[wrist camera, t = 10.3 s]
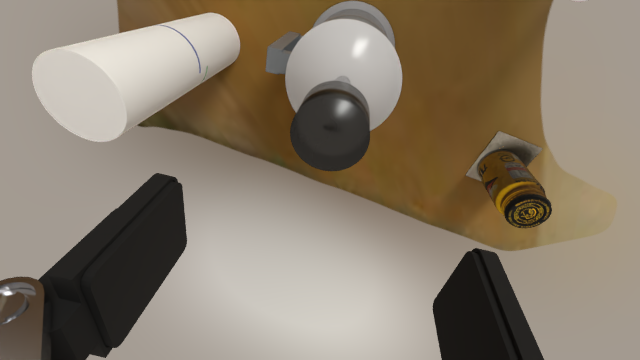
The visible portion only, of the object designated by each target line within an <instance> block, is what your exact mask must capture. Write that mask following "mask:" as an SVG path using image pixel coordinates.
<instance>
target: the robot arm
mask: <svg viewBox="0 0 640 360" xmlns="http://www.w3.org/2000/svg"><path fill="white" fill-rule="evenodd" d="M186 244H187V236H186V225H185V213H184V203H183V191H182V185H181V183H178V181H177V179H176V178H175V177H172V176H168V175H164V174H159V173H156V174H154V175H153V176H152V177H151V178H150V179H149V180H148V181H147V182H146V183H144V184H143V185H142V186H141V187H140V188H139V189H138V190H137V191H136V192H135V193H134V194H133V195H132V196H130V197H129V198H128V199H127V200H126V201H125V202H124V203H123V204H122V205H121V206H120V207H119V208H117V209H115V210H114V211H113V212H111V213H110V214H109V215H108V216H107V217H106V218H105V219H104V220H103V221H102V222H101V223H99V224H98V225H97V226H96V227H95V228H94V229H93V230H92V231H91V232H90V233H89V234H87V235H86V236H85V237H84V238H83V239H82V240H81V241H80V242H79V243H78V244H77V245H76V246H75V247H73V248H72V249H71V250H70V251H69V252H68V253H67V254H66V255H65V256H64V257H63V258H61V259H60V260H59V261H58V262H57V263H56V264H55V265H54V266H53V267H52V268H51V269H50V270H48V271H47V272H46V273H45V274H44V275H43V276H42V277H41V278H40V279H39V280H37V279H33V278H31V277H14V278H8V279H4V280H1V281H0V360H86V358H87V357H88V356H89V354H92V355H96V356H100V357H105V358H106V357H107V355H108V354H109V352H110V351H111V349H112V348H117V347H118V346H119V345H120V344H121V343H122V342H123V341H124V339H125V338H126V336H127V335H128V333H129V332H130V330H131V329H132V327H133V326H134V324H135V323H136V321H137V320H138V318H139V317H140V315H141V314H142V312H143V311H144V309H145V308H146V306H147V305H148V303H149V302H150V301H151V299H152V298H153V296H154V295H155V293H156V292H157V290H158V289H159V287H160V286H161V284H162V283H163V281H164V280H165V278H166V277H167V275H168V274H169V272H170V271H171V269H172V268H173V266H174V265H175V263H176V262H177V260H178V259H179V257H180V256H181V254H182V253H183V251H184V250H185V247H186ZM433 314H434V319H435V325H436V330H437V336H438V341H439V347H440V352H441V358H442V360H544V358H543V356H542V354H541V352H540V350H539V347H538V345H537V343H536V340H535V338H534V336H533V334H532V332H531V329H530V327H529V325H528V323H527V320H526V318H525V316H524V314H523V311H522V309H521V307H520V305H519V302H518V300H517V298H516V296H515V293H514V291H513V289H512V287H511V284H510V282H509V280H508V278H507V275H506V273H505V271H504V269H503V266H502V264H501V262H500V260H499V257H498V256H497V254H496V253H494V252H490V251H486V250H482V249H477V248H475V249H473V250H472V251H468V252H467V253H466V254H465V255H464V257H463V258H462V260H461V261H460V263H459V264H458V266H457V267H456V269H455V270H454V272H453V273H452V275H451V276H450V278H449V279H448V280H447V282H446V283H445V285H444V286H443V288H442V289H441V291H440V292H439V294H438V295H437V297H436V298H435V300H434V303H433Z"/></svg>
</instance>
